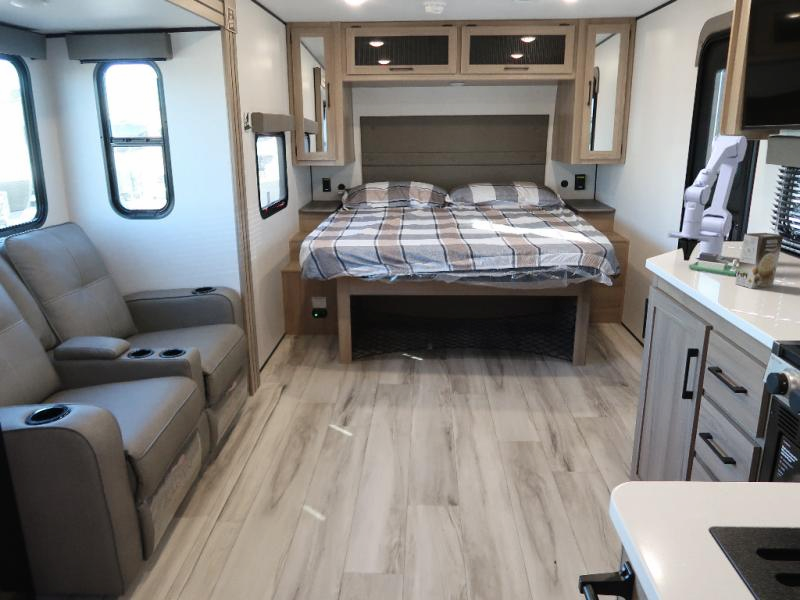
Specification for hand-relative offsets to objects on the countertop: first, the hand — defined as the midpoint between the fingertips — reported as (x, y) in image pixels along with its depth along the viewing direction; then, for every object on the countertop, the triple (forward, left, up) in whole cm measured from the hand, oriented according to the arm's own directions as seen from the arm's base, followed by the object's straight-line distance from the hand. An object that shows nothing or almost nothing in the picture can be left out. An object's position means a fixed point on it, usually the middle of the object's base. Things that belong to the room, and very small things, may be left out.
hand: (686, 260), depth 215 cm
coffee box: (+14, +24, -2) cm, 28 cm away
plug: (0, +7, -1) cm, 7 cm away
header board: (0, +10, -2) cm, 10 cm away
